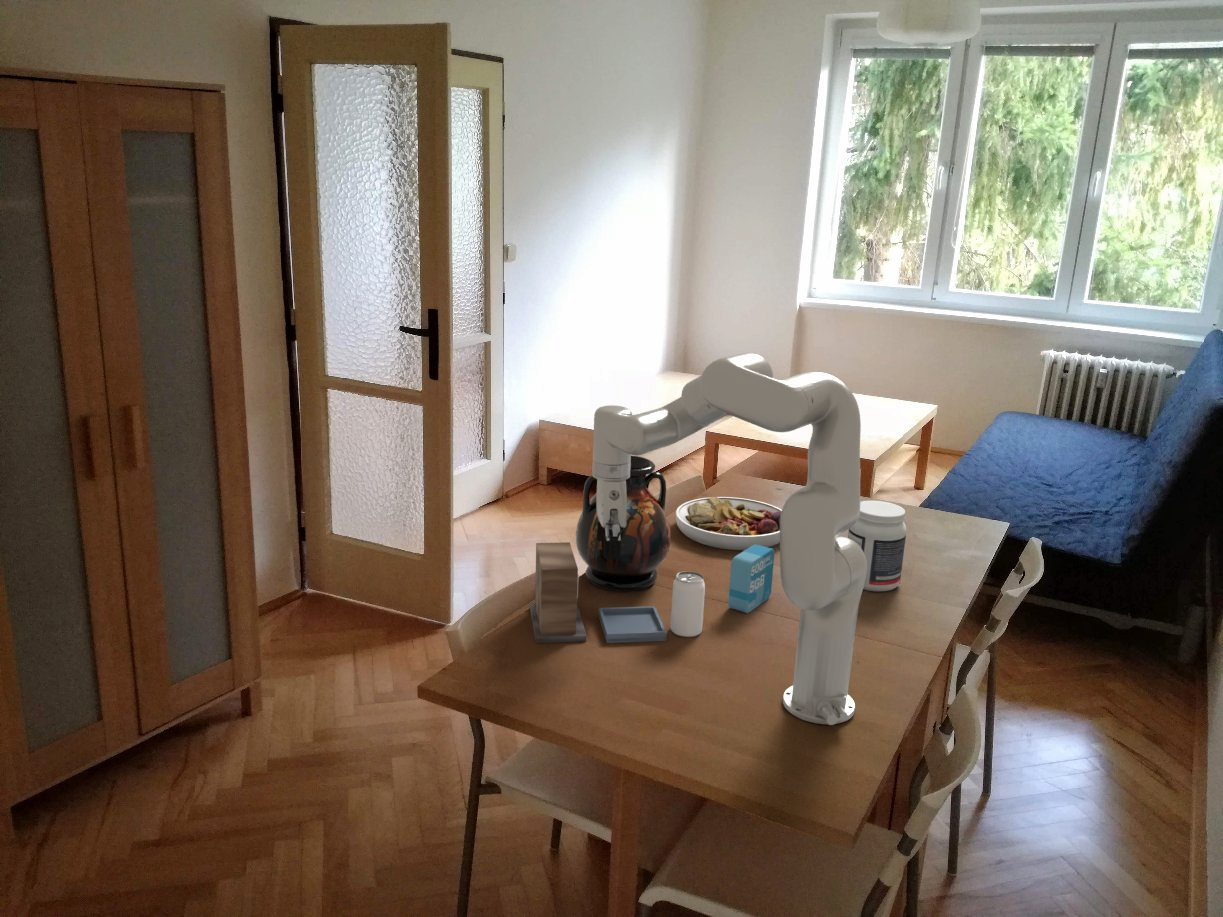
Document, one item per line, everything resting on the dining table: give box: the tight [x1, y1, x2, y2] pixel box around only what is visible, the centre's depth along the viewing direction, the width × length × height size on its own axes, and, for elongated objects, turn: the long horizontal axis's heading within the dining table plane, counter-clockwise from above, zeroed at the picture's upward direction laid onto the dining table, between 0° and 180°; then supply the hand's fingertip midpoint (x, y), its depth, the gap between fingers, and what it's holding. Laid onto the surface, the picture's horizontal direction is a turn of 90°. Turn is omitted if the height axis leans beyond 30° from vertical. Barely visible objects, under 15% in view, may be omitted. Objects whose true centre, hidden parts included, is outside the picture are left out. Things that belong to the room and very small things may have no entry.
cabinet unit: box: [529, 541, 587, 644], centre depth 201 cm, size 16×10×15 cm, turn 9°
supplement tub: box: [847, 500, 908, 592], centre depth 227 cm, size 13×13×18 cm
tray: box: [598, 605, 668, 644], centre depth 202 cm, size 12×12×2 cm
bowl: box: [675, 496, 782, 551], centre depth 257 cm, size 30×30×8 cm
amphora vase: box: [575, 455, 672, 592], centre depth 222 cm, size 22×22×28 cm
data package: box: [727, 544, 775, 614], centre depth 214 cm, size 12×4×12 cm, turn 145°
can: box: [670, 570, 706, 638], centre depth 200 cm, size 6×6×12 cm
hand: (608, 549), depth 200 cm, fingers open, 9 cm apart
